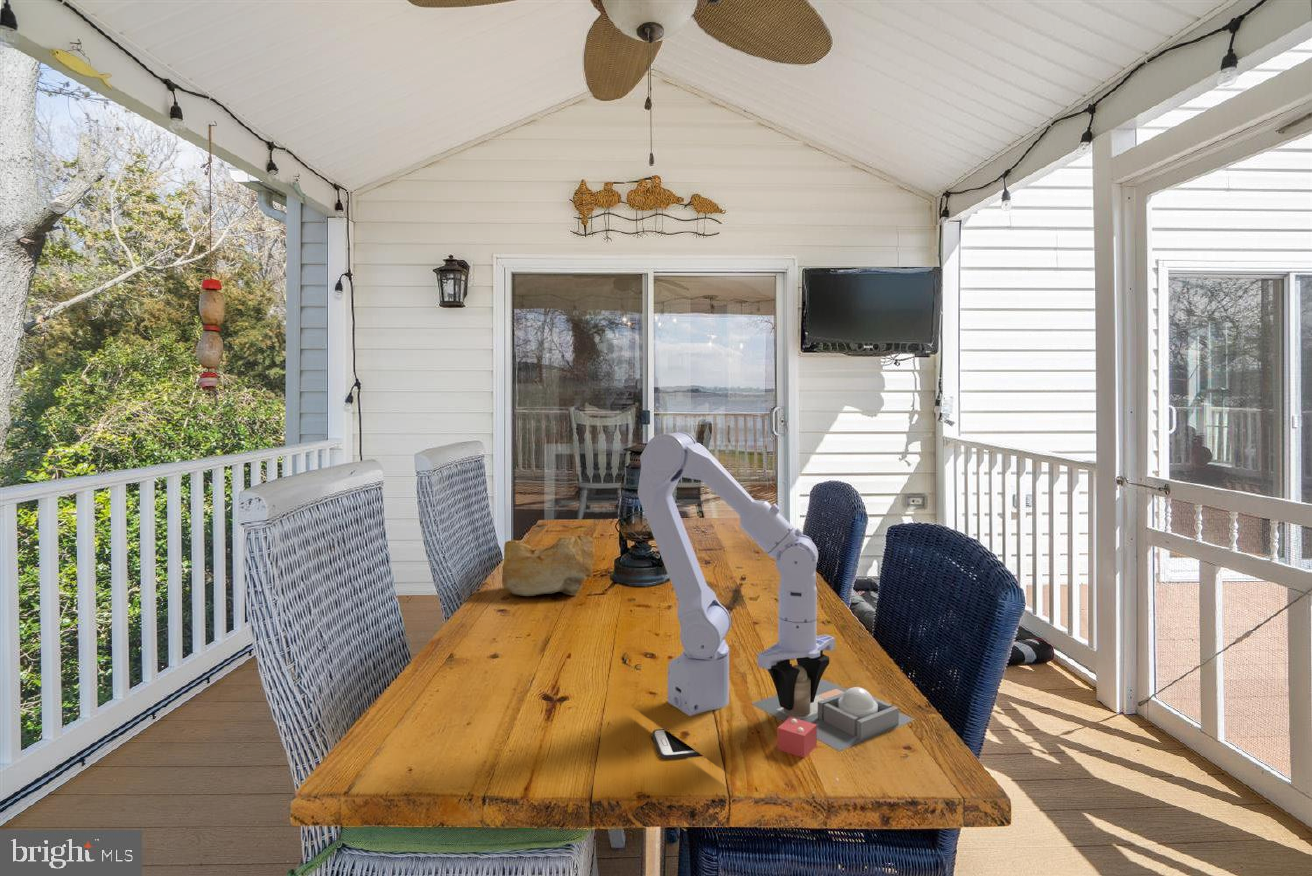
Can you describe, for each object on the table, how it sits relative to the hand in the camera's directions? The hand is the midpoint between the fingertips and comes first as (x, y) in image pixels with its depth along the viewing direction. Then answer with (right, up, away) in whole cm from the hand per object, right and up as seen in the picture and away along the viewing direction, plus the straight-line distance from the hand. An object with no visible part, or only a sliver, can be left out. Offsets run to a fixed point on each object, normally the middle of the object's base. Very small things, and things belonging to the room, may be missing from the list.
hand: (796, 704), depth 108 cm
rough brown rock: (-48, +2, +72) cm, 86 cm away
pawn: (0, -1, 0) cm, 1 cm away
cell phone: (-14, -3, -7) cm, 16 cm away
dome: (+8, -1, -3) cm, 9 cm away
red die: (-2, -3, -11) cm, 12 cm away
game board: (+5, -2, 0) cm, 6 cm away
